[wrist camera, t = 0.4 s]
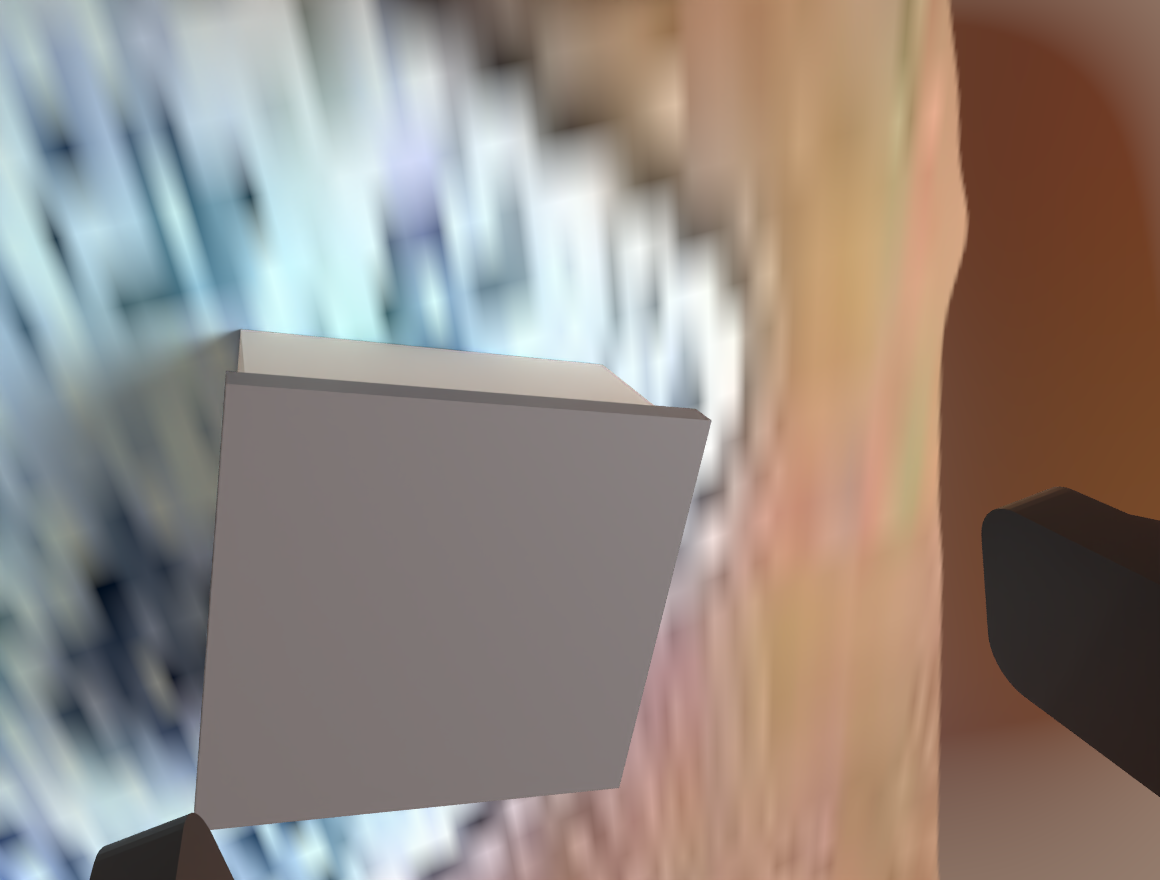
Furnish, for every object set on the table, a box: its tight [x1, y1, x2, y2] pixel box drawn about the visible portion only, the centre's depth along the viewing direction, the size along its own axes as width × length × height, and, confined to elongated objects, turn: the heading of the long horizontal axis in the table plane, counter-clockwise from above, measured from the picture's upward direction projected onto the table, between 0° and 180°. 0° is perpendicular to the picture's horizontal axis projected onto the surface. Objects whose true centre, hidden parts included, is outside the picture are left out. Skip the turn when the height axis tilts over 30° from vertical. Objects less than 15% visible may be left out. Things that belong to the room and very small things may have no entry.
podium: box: [194, 329, 711, 830], centre depth 29 cm, size 13×13×7 cm
